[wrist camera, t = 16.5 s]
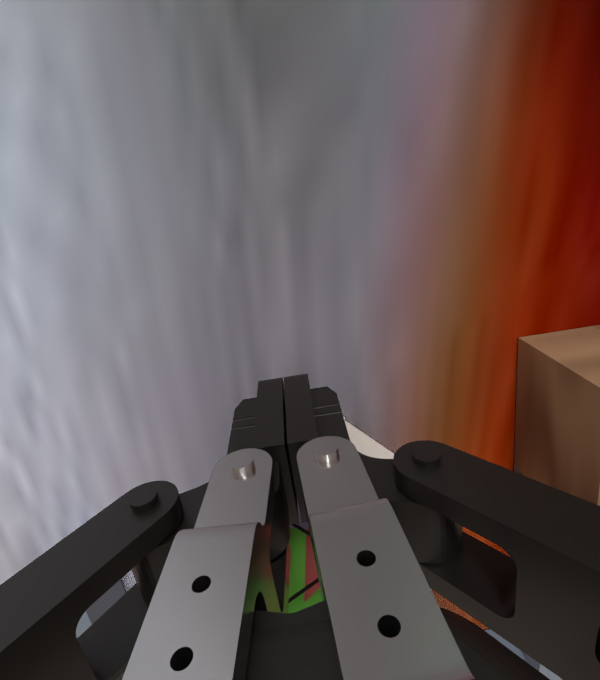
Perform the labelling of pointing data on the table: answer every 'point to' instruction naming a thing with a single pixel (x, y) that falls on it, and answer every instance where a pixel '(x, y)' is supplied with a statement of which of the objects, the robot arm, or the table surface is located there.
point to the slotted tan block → (560, 411)
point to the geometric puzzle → (302, 559)
